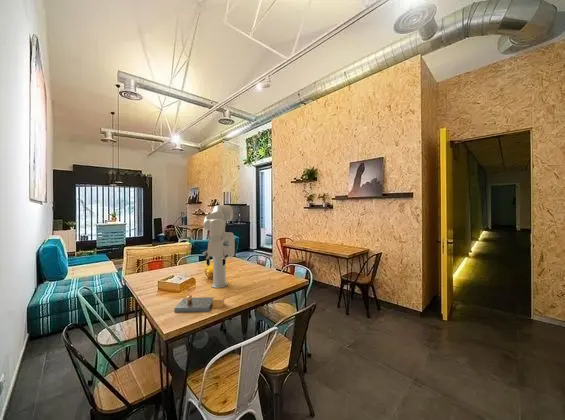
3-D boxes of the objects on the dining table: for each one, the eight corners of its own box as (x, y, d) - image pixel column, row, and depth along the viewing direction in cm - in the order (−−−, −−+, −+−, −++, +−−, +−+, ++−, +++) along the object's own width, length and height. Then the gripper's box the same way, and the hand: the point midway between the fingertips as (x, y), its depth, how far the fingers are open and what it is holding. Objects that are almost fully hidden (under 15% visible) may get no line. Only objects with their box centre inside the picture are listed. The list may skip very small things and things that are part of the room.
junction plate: (184, 301, 157) (184, 291, 156) (215, 301, 158) (215, 291, 157) (174, 312, 141) (174, 301, 140) (208, 311, 142) (208, 300, 141)
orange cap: (214, 304, 153) (214, 296, 153) (224, 303, 153) (224, 296, 153) (212, 308, 147) (212, 299, 147) (222, 307, 147) (222, 299, 147)
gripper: (230, 237, 158) (230, 263, 157) (204, 238, 157) (204, 264, 157) (228, 238, 150) (228, 266, 150) (200, 239, 150) (200, 266, 149)
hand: (216, 265), depth 153 cm, fingers open, 9 cm apart
